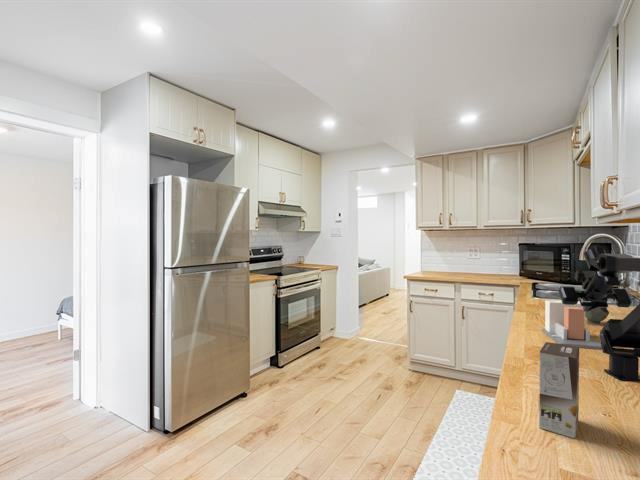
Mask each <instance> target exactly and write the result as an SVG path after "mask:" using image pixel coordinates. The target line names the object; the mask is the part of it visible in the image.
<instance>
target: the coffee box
mask: <svg viewBox="0 0 640 480" xmlns="http://www.w3.org/2000/svg"><path fill="white" fill-rule="evenodd" d="M579 391H580V348H579V347H575V346H570V345H564V344H558V343H556V342H555V343H554V342H549V341H545V342H544V345H543V346H542V347H541V349H540V350H539V400H538V401H539V403H538V405H539V406H538V407H539V409H538V411H539V412H538V427H539V429H542V430H545V431H549V432H552V433H555V434H559V435H562V436H565V437H568V438H572V439H576V436H577V431H578V425H579V413H580V412H579V411H580V409H579V407H580V406H579V405H580V404H579V400H580V399H579V396H580V394H579Z"/></svg>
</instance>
